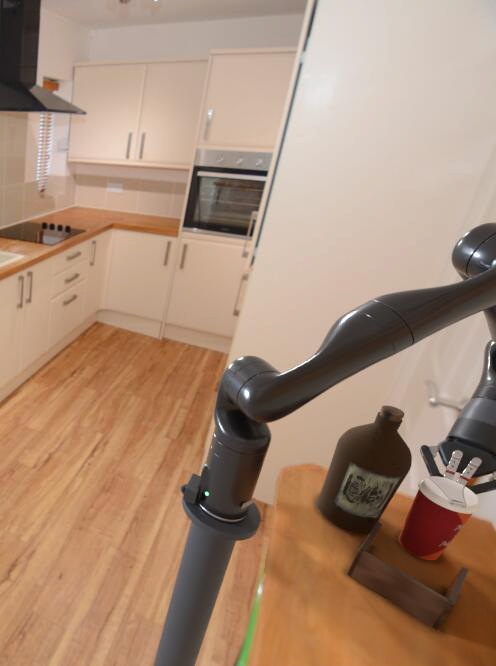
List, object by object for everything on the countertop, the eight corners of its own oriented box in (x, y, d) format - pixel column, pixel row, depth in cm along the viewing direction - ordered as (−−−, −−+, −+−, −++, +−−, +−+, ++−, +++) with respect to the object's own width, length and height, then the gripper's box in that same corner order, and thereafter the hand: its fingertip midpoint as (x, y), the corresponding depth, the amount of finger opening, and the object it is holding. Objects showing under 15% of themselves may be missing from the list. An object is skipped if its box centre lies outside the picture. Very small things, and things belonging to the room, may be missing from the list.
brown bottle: (311, 486, 97) (351, 387, 86) (373, 505, 92) (424, 403, 82) (315, 522, 89) (360, 417, 78) (383, 545, 84) (442, 437, 73)
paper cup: (453, 572, 79) (492, 514, 73) (398, 555, 82) (430, 498, 76) (436, 538, 85) (470, 481, 79) (385, 523, 88) (414, 468, 82)
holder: (346, 573, 79) (358, 550, 76) (365, 544, 84) (377, 521, 82) (437, 630, 70) (454, 605, 68) (452, 593, 76) (468, 569, 73)
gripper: (440, 404, 89) (397, 480, 88) (540, 440, 80) (494, 525, 78) (435, 416, 94) (395, 488, 93) (529, 451, 85) (485, 531, 83)
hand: (440, 504), depth 86 cm, fingers closed
